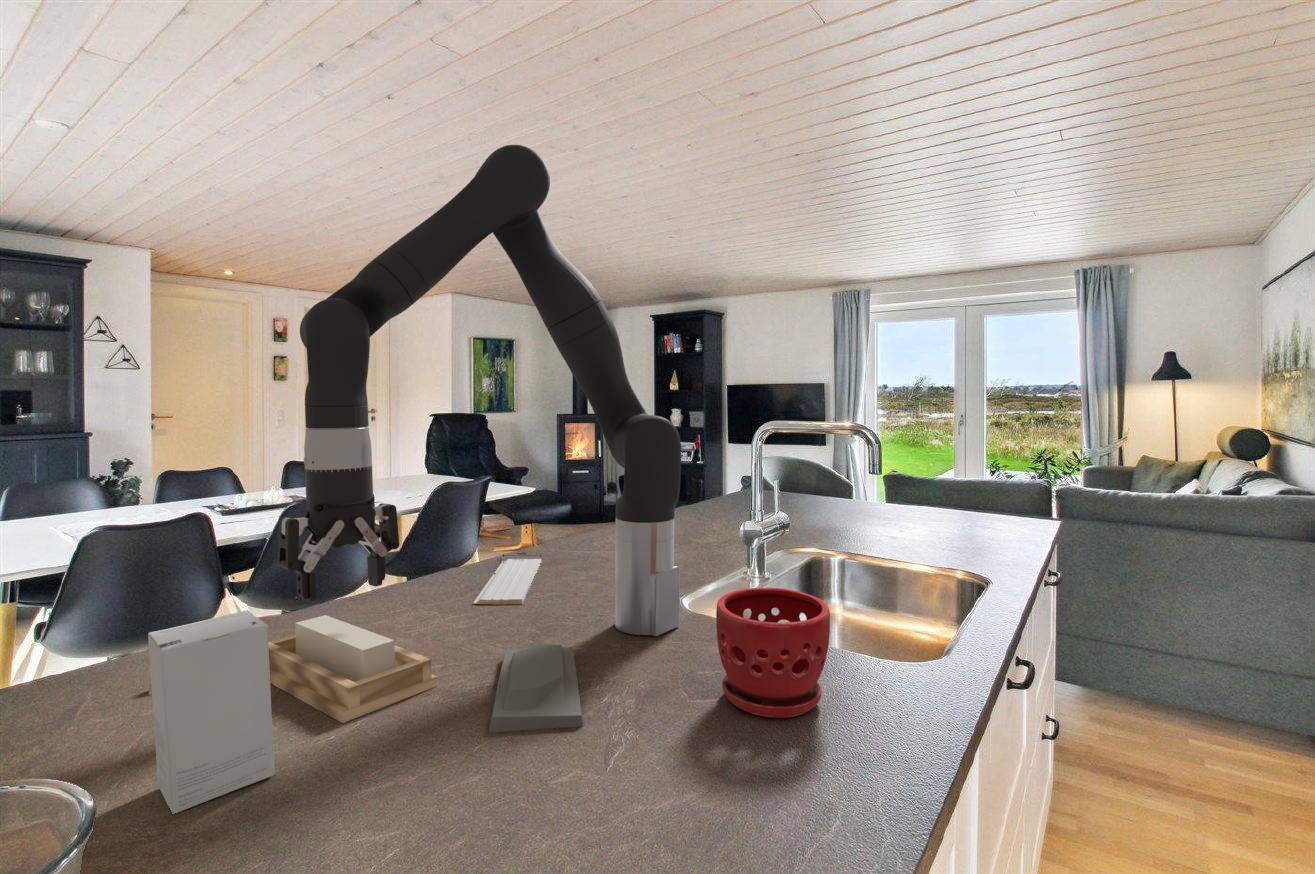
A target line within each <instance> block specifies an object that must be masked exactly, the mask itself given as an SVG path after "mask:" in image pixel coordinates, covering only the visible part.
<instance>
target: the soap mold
mask: <svg viewBox="0 0 1315 874" xmlns="http://www.w3.org/2000/svg"><path fill="white" fill-rule="evenodd" d="M576 666H577V665H576V658H575V654H574V650H573V646H572V647H571V646H570V647H569V646H567V647H563V644H553V643H537V644H534V645H531V646H529V647H526V648H516V649H515V648H513V649H511V648H510V649H505V651H504V655H503V657H502V661H501V667H500V672H499V677H498V681H497V687H496V692H495V697H494V702H493V707H492V712H491V718H490V722H489V723H490V724H489V727H488V728H489V729H488V733H500V732H501V733H502V732H515V731H516V732H517V731H528V730H530V731H531V730H543V729H545V730H546V729H557V728H559V729H560V728H561V729H562V728H575V727H577V728H580V727H584V724H583V723H584V722H583V714H582V705H581V698H580V690H579V680H578V673H577V667H576Z"/></svg>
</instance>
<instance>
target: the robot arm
mask: <svg viewBox="0 0 1315 874" xmlns="http://www.w3.org/2000/svg"><path fill="white" fill-rule="evenodd" d="M550 186H551V176H550V173H549V169H548V166H547V164H546V162H545V161H544V159H543V158H542V157H541V155H540V154H538V153H537V152H536V151H535V150H534V149H531V148H530V147H527V146H526V145H521V144H507V145H503V146H501V147H499V148H497V149H496V150H494V151H492V153H490V154H489V156H488V157H487V158H486V159H485V160H484V162H483V163H482V165H481V166H480V167H479V169H478V170H477V172H476V173H475V175H474V176H473V178H472V179H471V180H470V181H469V182H468V184H466V185H465V186H464V187H463V188H462V189H461V190H460V191H459V192H458V193H457V194H456V195H455V196H454V197H452V198H451V199H450V200H449V201H448V202H447V203H446V204H445V205H443V206H442V207H440V209H438V210H437V211H436V212H434V213H433V214H432V215H430V216H429V217H428V218H426V219H425V220H424V221H422V222H421V223H420V224H418V225H417V226H415V227H414V228H412V230H410V231H409V232H407V233H406V234H405V235H403V236H401V237H400V238H399V239H398V240H396V241H394V243H393V244H391V245H390V246H389V247H387V248H386V249H385V250H383V251H382V252H381V253H380V254H379V255H376V257H375V258H374V259H372V260H371V261H369V263H367V264H366V265H365V266H364V267H363V268H362V269H361V270H359V272H358V273H357V274H356V275H355V276H354V278H352V279H351V280H350V281H349V282H347V283H346V284H345V285H343V286H342V287H340V288H338V290H336V291H334V293H332V294H330V295H329V296H328V297H327V298H325V299H323V300H321V301H319V302H317V303H316V304H314V305H313V306H311V307H310V308H309V310H308V311H307V312H305V315H304V316H303V318H302V320H301V321H300V325H299V336H300V339H301V342H302V344H303V346H304V347H305V349H306V358H307V360H306V361H307V376H308V377H307V380H308V381H307V384H306V388H305V394H304V413H305V414H304V416H305V419H304V420H305V434H304V435H305V438H304V445H303V449H304V450H303V451H304V457H303V464H304V480H305V497H306V498H305V501H306V507H307V510H306V513H305V515H304V517H294V518H293V517H287V516H283V517H281V518H280V519H279V520H278V534H277V535H278V537H277V544H278V545H277V565H278V566H279V568H283V569H286V570H289V571H294V572H295V576H296V577H295V579H296V581H295V582H296V595H297V597H298V598H300V599H302V601H303V602H304V603H308V604H311V603H315V602H316V601H317V584H316V583H317V581H316V571H314V569H315V567H316V565H317V564H318V562H319V561H320V559H321V558H322V557H324V556H325V555H326V554H327V552H328V551H329V549H330V548H332V549H335V548H336V549H337V548H341V547H343V546H346V545H351V546H352V545H358V544H360V545H361V546H362V547H363V548H364V549H365V550H366V551H367V552H368V554H369V555H368V556H366V557H367V580H368V582H367V583H368V585H370V586H372V587H375V588H376V587H379V586H382V585H383V581H385V579H386V556H387V554H388V553H390V552H391V551H392V550H397V549H398V548H399V547H400V533H399V523H398V513H397V506H396V505H395V504H390V503H383V502H382V503H379V504H378V505H377V506H373V497H374V484H373V483H374V482H373V481H374V480H373V457H372V456H373V454H372V453H373V452H372V441H371V436H370V429H369V425H370V424H369V404H368V394H367V393H368V392H367V382H368V381H367V380H368V374H369V362H370V350H371V349H370V348H371V337H373V335H374V334H376V332H378V331H379V330H380V329H381V328H383V326H384V325H385V324H387V323H388V322H389V321H391V320H392V319H393V318H395V317H397V316H399V315H400V314H402V313H403V312H405V311H406V310H407V309H409V308H410V307H411V306H412V305H414V304H415V303H416V302H417V301H419V300H420V299H421V298H422V297H423V296H425V295H426V294H427V293H428V292H429V291H431V289H432V288H434V287H435V286H436V285H437V284H438V283H439V282H440V281H442V280H443V279H444V278H445V277H446V276H447V275H449V273H450V272H451V271H452V270H453V269H454V268H455V267H456V266H457V265H458V264H460V263H461V261H462V260H463V259H464V258H465V257H466V256H467V255H468V254H469V253H470V252H471V251H472V250H473V249H475V248H476V246H478V245H479V244H480V243H482V241H484V240H485V239H486V238H487V237H489V236H490V235H491V234H493V235H494V237H495V239H496V240H497V241H498V243H499V245H500V246H501V247H502V249H503V251H504V252H505V253H506V256H508V258H509V260H510V261H511V263H512V264H513V266H514V268H515V269H516V270H515V271H516V272H517V274H518V276H519V277H520V280H521V282H522V283H523V285H524V287H525V289H526V292H527V293H528V295H529V297H530V299H531V300H532V302H533V305H534V306H535V307H536V310H537V311H538V314H539V316H540V317H541V320H542V322H543V323H544V326H545V328H546V330H547V331H548V333H549V335H550V337H551V338H552V339H551V340H552V341H553V342H554V344H555V346H556V349H557V350H558V351H559V353H560V355H561V356H562V358H563V360H564V362H565V363H566V366H567V367H568V369H569V370H570V372H571V374H572V376H573V377H574V379H575V381H576V382H577V384H578V387H579V388H580V389H581V390H582V392H583V394H584V395H585V396H584V397H586V399H587V400H588V403H589V405H590V406H591V409H592V410H593V413H594V415H595V418H596V421H597V423H598V425H599V427H600V429H601V431H602V434H603V437H604V440H605V442H606V444H607V447H608V449H609V452H610V453H611V456H612V457H613V459H614V460H615V462H616V463H617V464H618V465H619V466H620V467H621V468H623V469H624V474H623V490H622V492H621V495H620V497H618V499H617V500H616V502H615V545H614V546H615V553H614V555H615V562H614V563H615V564H614V567H615V570H614V571H615V572H614V573H615V574H614V575H615V577H614V578H615V579H614V581H615V584H614V586H615V587H614V592H615V594H614V596H615V597H614V598H615V599H614V602H615V603H614V604H615V606H614V608H615V611H614V612H615V613H614V614H615V617H614V620H615V621H614V622H615V624H614V625H615V628H616V630H619V631H620V632H622V633H625V634H629V635H633V636H634V635H635V636H636V635H637V636H653V637H658V636H661V635H663V634H664V633H665V634H666V633H667V632H669V631H672V630H674V629H676V628H679V627H680V567H679V566H677V565H675V514H676V513H675V512H676V510H675V509H676V506H677V503H678V501H679V499H680V492H681V491H680V490H681V473H682V472H681V471H682V443H681V436H680V434H679V432H678V429H677V428H676V426H675V425H674V424H673V422H671V421H670V420H669V419H667V418H665V417H663V416H660V415H653V414H650V415H649V414H648V412H647V411H646V410H645V408H644V407H643V404H642V403H641V402H640V400H639V398H638V396H637V394H636V393H635V391H634V389H633V387H632V385H631V384H630V381H629V378H628V374H627V372H626V367H625V362H624V357H623V351H622V348H621V347H622V346H621V342H620V338H619V335H618V334H619V333H618V331H617V328H616V326H615V324H614V322H613V319H612V318H611V315H610V314H609V311H608V310H607V308H606V306H605V304H604V302H603V300H602V298H601V296H600V295H599V293H598V291H597V290H596V288H595V287H594V286H593V284H592V283H591V282H590V281H589V280H588V278H587V277H586V275H584V274H583V273H582V272H581V271H580V270H579V269H578V268H577V267H576V266H575V265H573V263H571V261H569V260H568V259H567V258H566V256H565V255H564V254H563V253H562V252H561V251H560V250H559V248H558V247H557V246H556V244H555V243H554V241H553V239H552V238H551V235H550V234H549V231H548V229H547V228H546V226H545V223H544V221H543V219H542V217H541V214H540V213H539V209H540V207H541V206H542V205H543V204H544V202H545V200H546V199H547V197H548V194H549V191H550ZM374 519H375V520H376V521H377V522H378V525H379V526H378V527H379V536H378V535H377V534H376V533H375V531H373V529H372V528H371V527H370V526H371V524H372V523H373V521H374ZM305 528H306V529H307V530H308V531H309V532H310V535H309V536H308V538H307V539H306V541H305V542H304V544H303V546H302V550H301V552H300V554H299V549H300V548H299V547H300V540H299V539H300V536H302V534H303V532H304V529H305Z"/></svg>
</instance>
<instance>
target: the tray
mask: <svg viewBox="0 0 1315 874" xmlns="http://www.w3.org/2000/svg"><path fill="white" fill-rule="evenodd" d="M268 646H269V667H270V685H273V686H274V687H277V688H278V689H280V690H282V691H284V692H286V693H288V694H289V695H291V696H293V697H294V698H296V699H298V700H300V701H302V702H303V703H306V704H307V705H309V706H311V707H313V708H315V710H318V711H320V712H322V713H324V714H325V715H327V716H329V717H331V718H332V719H334V720H336V721H337V722H340V723H341V724H344V723H347V722H350V721H353V720H355V719H356V718H357V719H358V718H360V717H362V716H365V715H367V714H369V713H373V712H375V711H377V710H380V709H382V708H385V707H388V706H390V705H393V704H395V703H398V702H400V701H402V700H405V699H407V698H410V697H413V696H416V695H418V694H420V693H423V692H426V691H428V690H431V689H433V688H436V687H438V676H437V675H435V674H433V672H432V671H433V669H432V659H431V658H430V657H426V656H425V655H422V654H419V653H416V652H414V651H411V650H408V649H406V648H403V647H402V646H398V645H395V644H394V647H395V668H393V669H390V670H387V671H384V672H381V673H378V674H375V675H373V676H370V677H367V678H364V679H361V680H358V681H355V682H353V681H351V680H349V679H347V678H344V677H342V676H340V675H338V674H336V673H334V672H332V671H330V670H328V669H325V668H323V667H321V666H319V665H317V664H315V663H313V662H311V661H309V660H307V659H304V658H302V657H300V656H298V655H296V638H295V634H291V635H289V636H285V637H281V638H278V639H274V640H271V641H268Z"/></svg>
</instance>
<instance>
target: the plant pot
mask: <svg viewBox="0 0 1315 874" xmlns="http://www.w3.org/2000/svg"><path fill="white" fill-rule="evenodd" d="M747 609H749V610H750V612H751V613H750V615H749V617H748V618H746V617H744V612H745V611H746V610H747ZM773 609H778V614H773V612H772V610H773ZM830 611H831V610H830V608H829V605H828V604H827V603H825V601H823V600H822V599H820V597H819V598H818V597H816V596H814V595H811V594H809V593H805V592H802V591H799V590H793V589H791V588H790V589H789V588H783V587H782V588H778V587H751V588H750V587H749V588H744V589H743V588H741V589H739V590H733V591H731V592H727V593H726V594H723V595H722V596H721V597H720V598H719V599H718V601H717V603H716V611H715V612H716V613H715V614H716V617H715V619H716V620H715V621H716V623H715V624H716V640H717V647H718V652H719V657H720V661H721V664H722V667H723V670H724V672H725V675H724V676H723V678H722V682H721V688H722V691H723V693H724V695H725V696H726V698H727V699H728V700H729V702H730V703H732V704H733V705H734V706H736V707H737V708H739V709H741V710H742V711H745V712H746V713H749V714H751V715H755V716H760V717H766V718H767V717H768V718H775V719H776V718H777V719H778V718H779V719H780V718H781V719H782V718H792V717H797V716H800V715H804V714H806V713H807V712H809V711H811V710H813V709H814V708H815V707H816V706H817V704H819V702H820V700H821V699H822V693H823V692H822V687H821V684H820V683H819V682H818V680H819V679H820V677H821V675H822V672H823V670H824V667H825V663H826V660H827V656H828V651H829V643H830V634H831V633H830V631H831V628H830V627H831V625H830V624H831V618H830V617H831V612H830ZM801 613H802V614H804V615H805V618H806V620H801V617H800V615H801ZM761 614H762V615H764V616H765V618H764V619H762V620H760V618H759V616H760V615H761ZM782 620H784V621H787V622H779V621H782Z"/></svg>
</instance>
